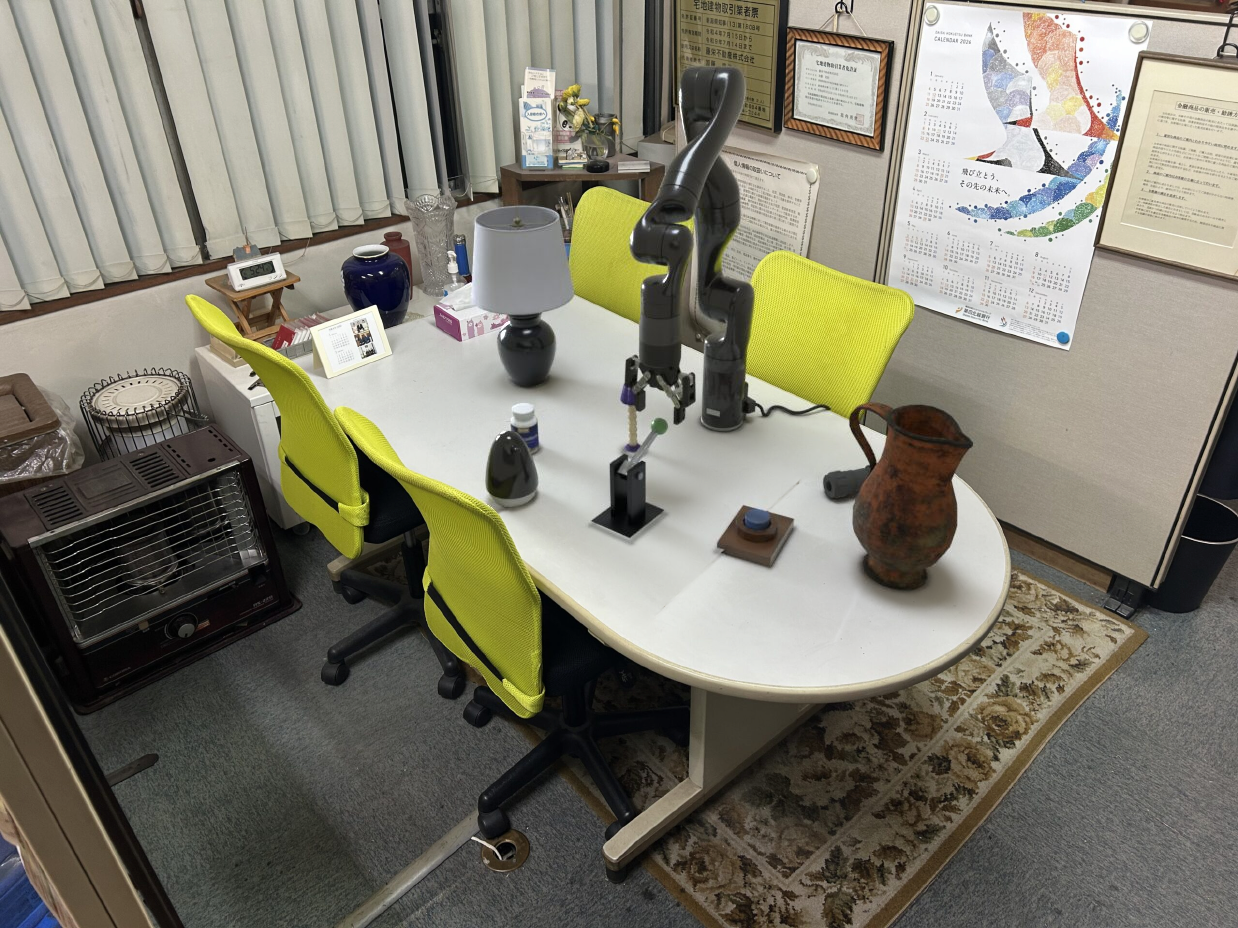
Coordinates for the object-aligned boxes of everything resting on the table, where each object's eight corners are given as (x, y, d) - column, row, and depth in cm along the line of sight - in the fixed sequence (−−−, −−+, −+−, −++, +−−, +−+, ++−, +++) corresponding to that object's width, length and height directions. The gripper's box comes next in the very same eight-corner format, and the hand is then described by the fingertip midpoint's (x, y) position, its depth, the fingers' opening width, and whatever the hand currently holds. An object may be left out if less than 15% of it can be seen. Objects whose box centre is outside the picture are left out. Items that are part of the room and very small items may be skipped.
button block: (742, 514, 169) (743, 496, 167) (793, 528, 165) (795, 510, 163) (716, 551, 159) (717, 533, 157) (769, 567, 155) (771, 549, 153)
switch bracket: (626, 498, 174) (626, 442, 167) (664, 514, 169) (665, 457, 162) (591, 525, 166) (589, 467, 159) (629, 542, 162) (629, 484, 155)
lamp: (596, 371, 221) (591, 212, 200) (539, 411, 204) (527, 241, 183) (520, 351, 232) (508, 197, 211) (460, 387, 215) (440, 224, 194)
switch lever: (658, 422, 168) (654, 412, 166) (672, 427, 167) (668, 417, 164) (619, 478, 163) (614, 469, 161) (633, 484, 162) (628, 474, 159)
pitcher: (910, 616, 144) (943, 459, 128) (805, 556, 157) (824, 407, 142) (965, 573, 153) (1002, 421, 137) (861, 519, 167) (884, 376, 151)
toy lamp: (640, 459, 186) (640, 388, 177) (619, 457, 187) (617, 386, 178) (644, 448, 190) (645, 378, 181) (623, 446, 191) (622, 376, 182)
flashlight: (832, 505, 171) (835, 481, 168) (819, 490, 175) (821, 467, 172) (902, 490, 175) (906, 467, 172) (887, 476, 179) (891, 453, 176)
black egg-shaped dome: (499, 521, 168) (491, 452, 160) (480, 493, 176) (472, 427, 168) (548, 506, 172) (543, 438, 164) (527, 480, 180) (522, 414, 172)
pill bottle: (520, 458, 187) (516, 417, 182) (508, 446, 191) (504, 406, 186) (544, 450, 189) (541, 409, 184) (531, 439, 194) (528, 398, 188)
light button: (749, 514, 162) (750, 506, 161) (772, 520, 161) (773, 512, 160) (741, 527, 159) (741, 519, 158) (764, 533, 157) (765, 525, 156)
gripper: (706, 338, 155) (702, 419, 163) (640, 319, 162) (640, 398, 171) (681, 353, 150) (679, 436, 158) (615, 332, 157) (616, 413, 166)
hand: (659, 416), depth 165 cm, fingers open, 8 cm apart
